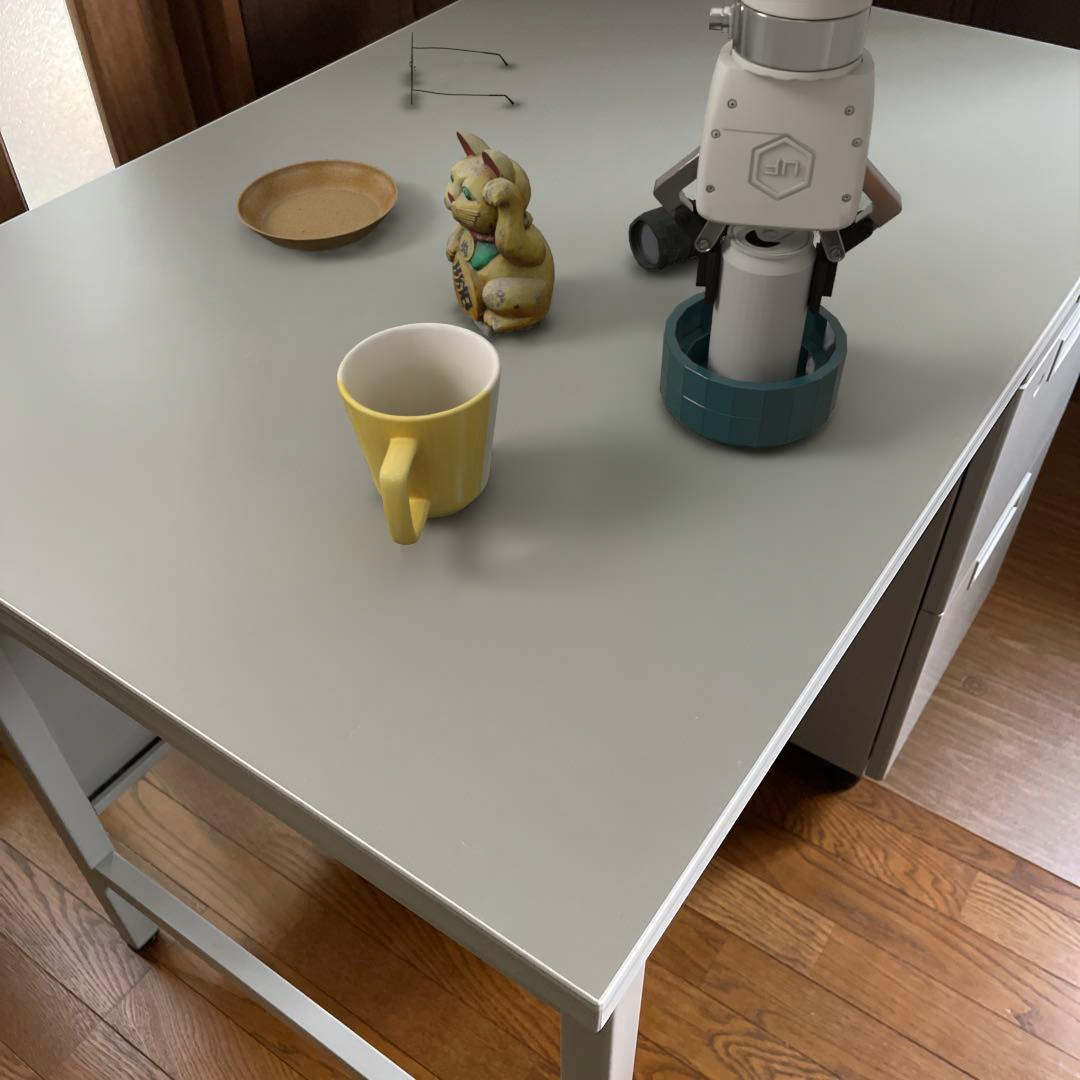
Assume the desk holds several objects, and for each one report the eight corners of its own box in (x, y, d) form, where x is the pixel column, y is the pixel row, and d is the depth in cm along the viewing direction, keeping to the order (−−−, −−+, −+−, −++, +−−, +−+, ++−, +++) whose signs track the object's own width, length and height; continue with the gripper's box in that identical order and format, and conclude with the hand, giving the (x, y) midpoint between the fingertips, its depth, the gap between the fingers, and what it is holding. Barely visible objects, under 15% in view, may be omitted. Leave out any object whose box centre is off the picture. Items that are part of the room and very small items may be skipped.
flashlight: (625, 257, 97) (627, 205, 94) (803, 193, 105) (811, 143, 101) (659, 283, 94) (662, 230, 91) (840, 215, 102) (849, 164, 98)
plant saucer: (373, 271, 96) (369, 244, 95) (215, 256, 99) (209, 230, 97) (420, 190, 107) (417, 165, 105) (276, 178, 109) (271, 153, 107)
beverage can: (688, 378, 81) (701, 231, 73) (745, 343, 84) (765, 198, 76) (754, 418, 78) (776, 268, 69) (812, 380, 81) (840, 232, 72)
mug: (396, 430, 81) (379, 308, 73) (528, 459, 78) (523, 335, 71) (309, 558, 72) (279, 434, 64) (454, 595, 69) (441, 470, 62)
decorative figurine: (435, 301, 93) (418, 128, 82) (517, 271, 96) (511, 101, 85) (495, 357, 87) (485, 178, 77) (581, 323, 90) (583, 147, 80)
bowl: (832, 359, 86) (845, 292, 82) (833, 465, 77) (848, 397, 73) (668, 344, 88) (673, 278, 84) (651, 447, 79) (655, 379, 75)
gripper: (642, 48, 62) (630, 318, 75) (961, 64, 60) (892, 340, 72) (656, 0, 67) (642, 260, 80) (949, 13, 65) (887, 279, 78)
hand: (761, 296), depth 76 cm, fingers closed on beverage can, 6 cm apart
